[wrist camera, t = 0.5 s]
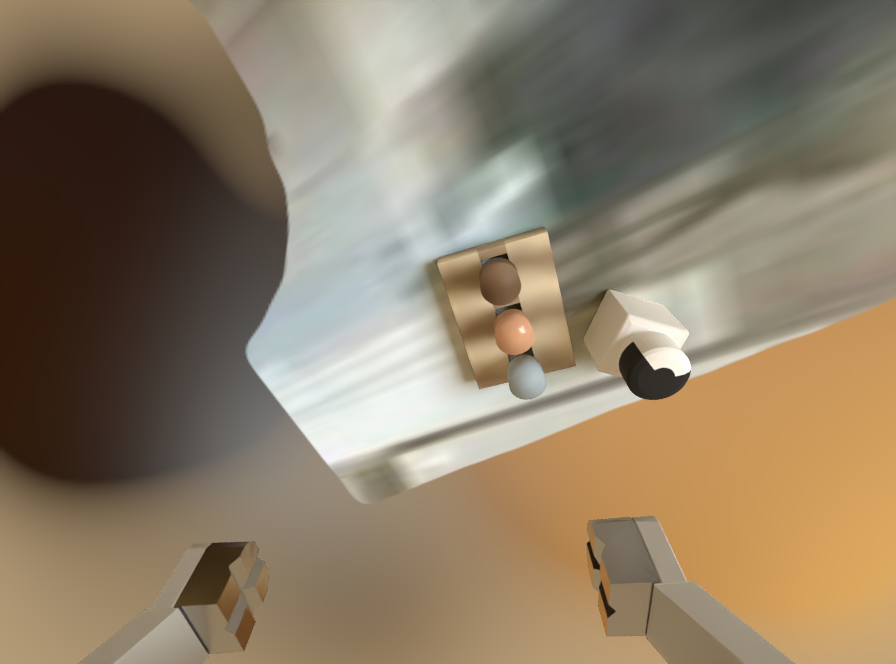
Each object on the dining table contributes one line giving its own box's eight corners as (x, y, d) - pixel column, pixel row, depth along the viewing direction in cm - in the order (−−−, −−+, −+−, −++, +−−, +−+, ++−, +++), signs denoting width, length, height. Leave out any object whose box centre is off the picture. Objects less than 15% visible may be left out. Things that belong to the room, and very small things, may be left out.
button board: (437, 257, 51) (437, 263, 49) (544, 226, 49) (547, 231, 47) (478, 380, 58) (479, 389, 56) (572, 357, 56) (575, 365, 55)
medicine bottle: (635, 355, 56) (676, 416, 45) (581, 340, 55) (610, 398, 45) (663, 304, 53) (715, 357, 42) (607, 287, 52) (645, 337, 41)
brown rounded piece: (474, 257, 49) (475, 274, 44) (510, 247, 48) (515, 262, 44) (484, 290, 50) (486, 310, 46) (519, 281, 50) (525, 299, 45)
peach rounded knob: (488, 306, 51) (491, 327, 47) (523, 297, 51) (529, 316, 46) (497, 336, 53) (500, 358, 49) (531, 328, 52) (537, 349, 48)
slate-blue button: (501, 351, 54) (505, 374, 49) (535, 342, 53) (541, 365, 49) (509, 378, 56) (514, 402, 51) (542, 370, 55) (549, 394, 50)
